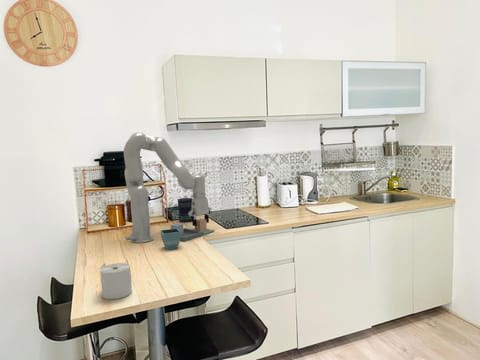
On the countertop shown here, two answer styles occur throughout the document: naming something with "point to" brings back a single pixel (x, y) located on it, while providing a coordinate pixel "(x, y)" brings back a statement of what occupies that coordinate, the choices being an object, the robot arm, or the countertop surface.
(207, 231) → the mat
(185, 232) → the parts tray
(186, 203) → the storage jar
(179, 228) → the plain box
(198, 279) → the countertop surface
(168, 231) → the flower pot
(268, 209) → the countertop surface
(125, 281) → the toilet tissue
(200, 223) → the labelled box
